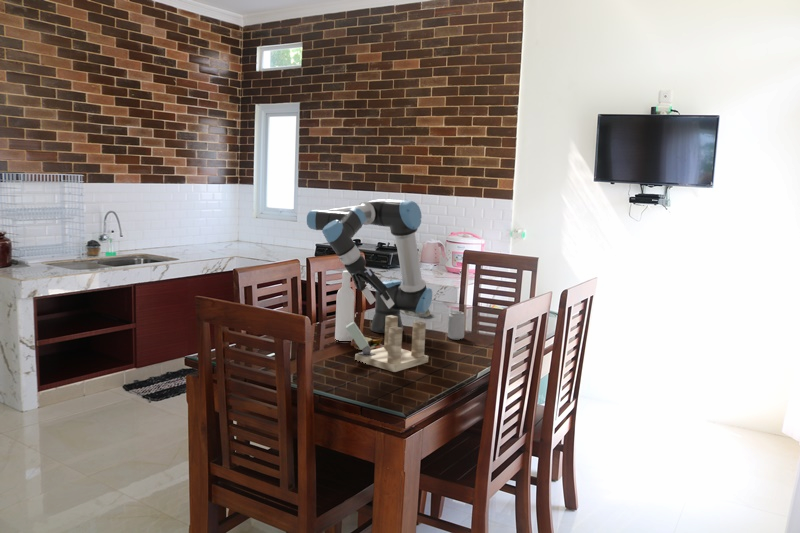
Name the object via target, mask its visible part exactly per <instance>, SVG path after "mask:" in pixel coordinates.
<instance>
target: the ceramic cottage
mask: <svg viewBox="0 0 800 533" xmlns="http://www.w3.org/2000/svg"><path fill="white" fill-rule="evenodd" d="M400 314H404V315H408V316H410V317H416V318H428V317H429V316H430V315H431V310H430V308H429V309H428V310H427V311H426V312H424V313H416V312H411V311H404V310H400Z"/></svg>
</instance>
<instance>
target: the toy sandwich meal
mask: <svg viewBox="0 0 800 533" xmlns="http://www.w3.org/2000/svg"><path fill="white" fill-rule="evenodd" d="M364 337H365V339H366V340H367V342H368V345H369V346H370V349H371V350H374V349H378V348H382V347H384V344H382V343H381V342H382V341H383V338H380V339H373V338H370V337H367V336H364ZM350 346H352V347H354V349H356V350H357V349H358V350H357V351H359V350H360V348H359V347H358V345H357V344H356V342H355V341H354V339H353V340H352V341H351V342H350ZM361 350H362V351H361V352H363V349H361Z"/></svg>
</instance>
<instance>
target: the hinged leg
mask: <svg viewBox="0 0 800 533" xmlns="http://www.w3.org/2000/svg"><path fill="white" fill-rule="evenodd" d="M346 329H347V330H348V332H349V333H350V335H351V336H352V338H353V339H354V341H355V342H356V344H357V345H358V347H359V348H360V350H361V349H363V351H362V352H363V353H364V354H366V355H367V354H369V353H370V352H371V349H370V346H369V345H368V342H367V340H366V339H365V337H366V336H365V335H364V334H363V333H362V331H361V329H360V328H359V326H358V325H357V323H356V321H353V322H351V323H350V324H348V325H347V326H346Z"/></svg>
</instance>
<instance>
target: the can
mask: <svg viewBox="0 0 800 533" xmlns="http://www.w3.org/2000/svg"><path fill="white" fill-rule="evenodd" d="M447 318H448V321H447V334H446V336H447V337H448V339H450V340H457V341H459V340H460V339H461V340H463V339H464V338H465V329H466V328H465V327H466V325H465V324H466V315H465V312H463V311H459V310H457V311H456V310H455V311H454V310H453V311H450V312H449V314H448V317H447Z"/></svg>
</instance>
